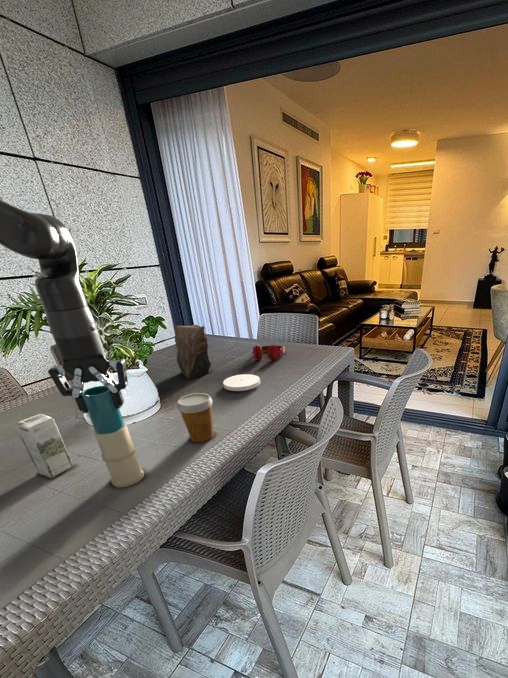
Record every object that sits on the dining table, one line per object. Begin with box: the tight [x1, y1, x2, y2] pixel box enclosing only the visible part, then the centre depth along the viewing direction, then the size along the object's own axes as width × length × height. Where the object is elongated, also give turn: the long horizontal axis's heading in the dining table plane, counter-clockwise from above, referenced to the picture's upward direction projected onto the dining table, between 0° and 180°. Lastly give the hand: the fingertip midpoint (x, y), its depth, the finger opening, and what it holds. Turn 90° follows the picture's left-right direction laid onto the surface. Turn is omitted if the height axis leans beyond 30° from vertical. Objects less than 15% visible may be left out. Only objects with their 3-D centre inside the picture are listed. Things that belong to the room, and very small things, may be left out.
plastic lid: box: [222, 373, 261, 392], centre depth 136 cm, size 14×14×2 cm
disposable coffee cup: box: [176, 392, 214, 443], centre depth 100 cm, size 10×10×12 cm
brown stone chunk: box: [174, 324, 212, 380], centre depth 149 cm, size 13×13×20 cm
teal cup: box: [81, 385, 125, 434], centre depth 77 cm, size 6×6×9 cm
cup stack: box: [93, 421, 145, 488], centre depth 82 cm, size 7×7×14 cm
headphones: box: [251, 344, 286, 361], centre depth 171 cm, size 15×7×20 cm
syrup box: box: [14, 413, 74, 479], centre depth 86 cm, size 6×6×14 cm
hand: (103, 409), depth 77 cm, fingers closed on teal cup, 6 cm apart
